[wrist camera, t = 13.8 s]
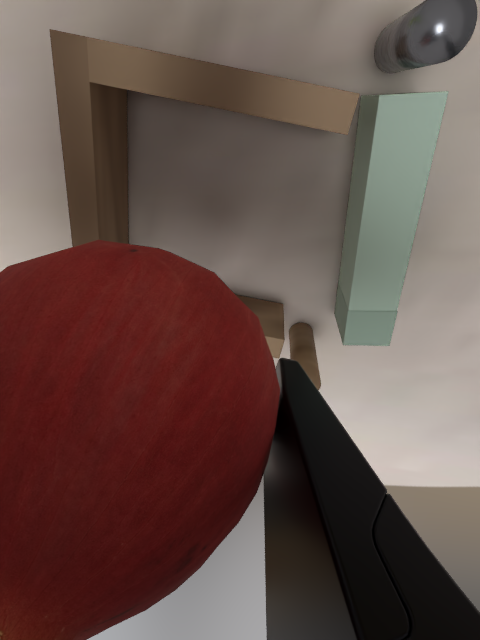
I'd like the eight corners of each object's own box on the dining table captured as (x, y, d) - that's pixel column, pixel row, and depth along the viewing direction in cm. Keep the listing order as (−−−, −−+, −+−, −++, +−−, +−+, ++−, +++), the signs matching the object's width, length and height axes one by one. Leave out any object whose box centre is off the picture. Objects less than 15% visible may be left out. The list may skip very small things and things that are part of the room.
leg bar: (374, 313, 19) (389, 345, 17) (334, 313, 20) (343, 345, 17) (417, 92, 14) (449, 91, 11) (360, 95, 14) (379, 95, 11)
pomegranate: (224, 403, 12) (149, 818, 5) (56, 334, 11) (-319, 734, 4) (318, 261, 9) (464, 857, 2) (95, 148, 8) (-1279, 527, 1)
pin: (425, 25, 13) (489, -7, 9) (407, 76, 14) (457, 68, 10) (384, 15, 13) (430, -20, 9) (367, 68, 14) (403, 57, 10)
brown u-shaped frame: (394, 105, 14) (437, 108, 10) (308, 343, 21) (316, 397, 17) (97, 44, 14) (31, 23, 10) (109, 305, 21) (72, 350, 17)
